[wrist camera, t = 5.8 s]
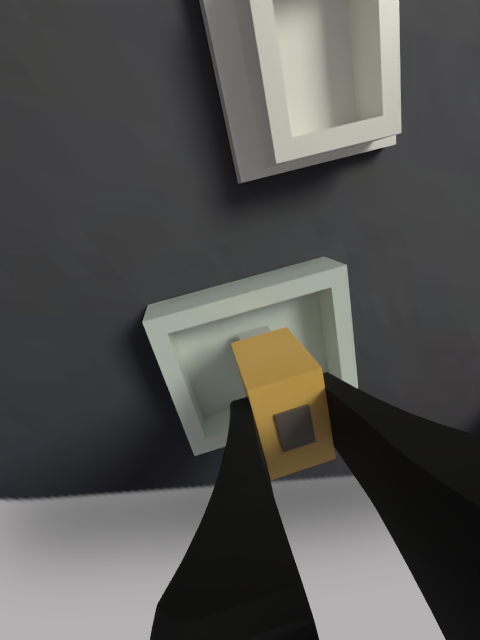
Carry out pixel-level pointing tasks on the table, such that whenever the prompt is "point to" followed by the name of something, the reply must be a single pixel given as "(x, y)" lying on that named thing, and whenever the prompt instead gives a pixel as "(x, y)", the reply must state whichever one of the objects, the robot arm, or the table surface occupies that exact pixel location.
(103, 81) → the table surface
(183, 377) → the parts tray
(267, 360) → the block
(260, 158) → the white open box
